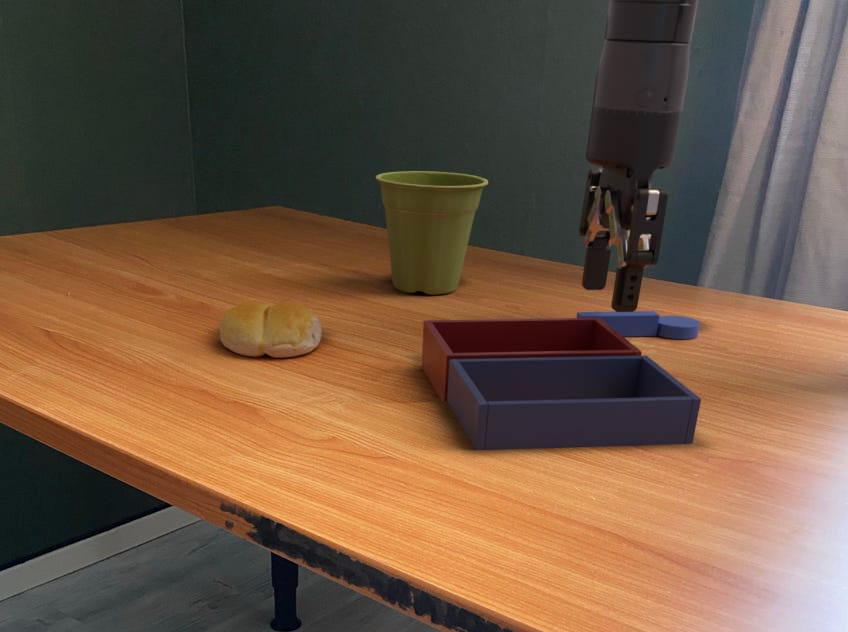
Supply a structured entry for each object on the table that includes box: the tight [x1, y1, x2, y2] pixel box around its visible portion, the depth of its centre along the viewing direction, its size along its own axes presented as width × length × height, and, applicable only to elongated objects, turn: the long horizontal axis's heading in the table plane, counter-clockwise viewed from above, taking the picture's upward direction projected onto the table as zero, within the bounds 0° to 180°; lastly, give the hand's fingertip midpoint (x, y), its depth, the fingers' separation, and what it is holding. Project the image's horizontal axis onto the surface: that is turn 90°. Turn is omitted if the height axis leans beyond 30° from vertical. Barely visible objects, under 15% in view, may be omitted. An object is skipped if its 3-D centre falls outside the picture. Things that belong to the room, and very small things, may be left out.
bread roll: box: [218, 299, 323, 359], centre depth 88 cm, size 8×9×4 cm
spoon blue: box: [576, 310, 701, 340], centre depth 95 cm, size 12×4×2 cm, turn 97°
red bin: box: [421, 317, 643, 403], centre depth 80 cm, size 15×10×4 cm
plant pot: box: [375, 170, 489, 296], centre depth 107 cm, size 12×12×11 cm
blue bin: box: [446, 355, 702, 452], centre depth 71 cm, size 15×10×4 cm
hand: (607, 299), depth 93 cm, fingers open, 8 cm apart
